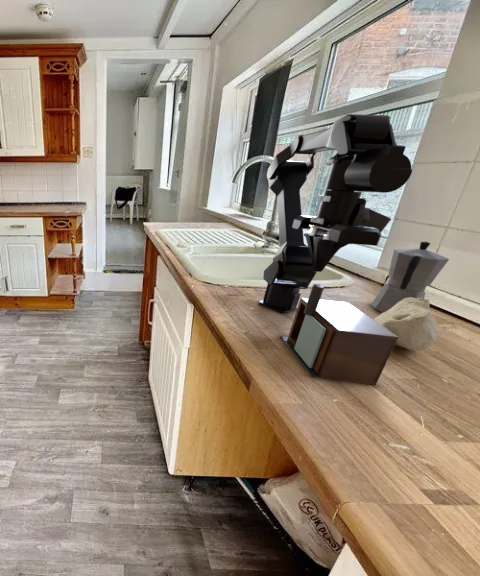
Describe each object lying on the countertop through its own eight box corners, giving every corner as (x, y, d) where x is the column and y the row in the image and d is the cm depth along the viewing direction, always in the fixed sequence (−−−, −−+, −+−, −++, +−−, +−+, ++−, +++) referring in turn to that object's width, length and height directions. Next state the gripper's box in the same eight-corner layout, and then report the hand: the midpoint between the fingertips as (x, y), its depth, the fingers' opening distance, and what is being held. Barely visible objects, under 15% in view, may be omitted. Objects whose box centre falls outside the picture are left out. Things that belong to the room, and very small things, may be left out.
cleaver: (290, 347, 58) (311, 283, 53) (299, 348, 58) (321, 284, 53) (305, 367, 52) (330, 297, 47) (315, 368, 52) (342, 298, 47)
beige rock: (397, 373, 56) (494, 334, 52) (372, 338, 57) (465, 297, 53) (356, 353, 71) (429, 321, 66) (337, 326, 72) (407, 292, 67)
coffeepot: (376, 299, 85) (403, 234, 78) (423, 311, 78) (457, 242, 71) (362, 313, 76) (392, 241, 69) (414, 328, 69) (453, 251, 62)
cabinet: (280, 336, 63) (293, 296, 59) (331, 342, 61) (347, 302, 58) (311, 376, 51) (329, 329, 47) (375, 385, 49) (399, 337, 46)
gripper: (435, 195, 47) (396, 290, 52) (358, 191, 64) (334, 263, 70) (355, 191, 49) (325, 284, 54) (301, 188, 66) (282, 259, 71)
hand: (317, 271), depth 62 cm, fingers closed
